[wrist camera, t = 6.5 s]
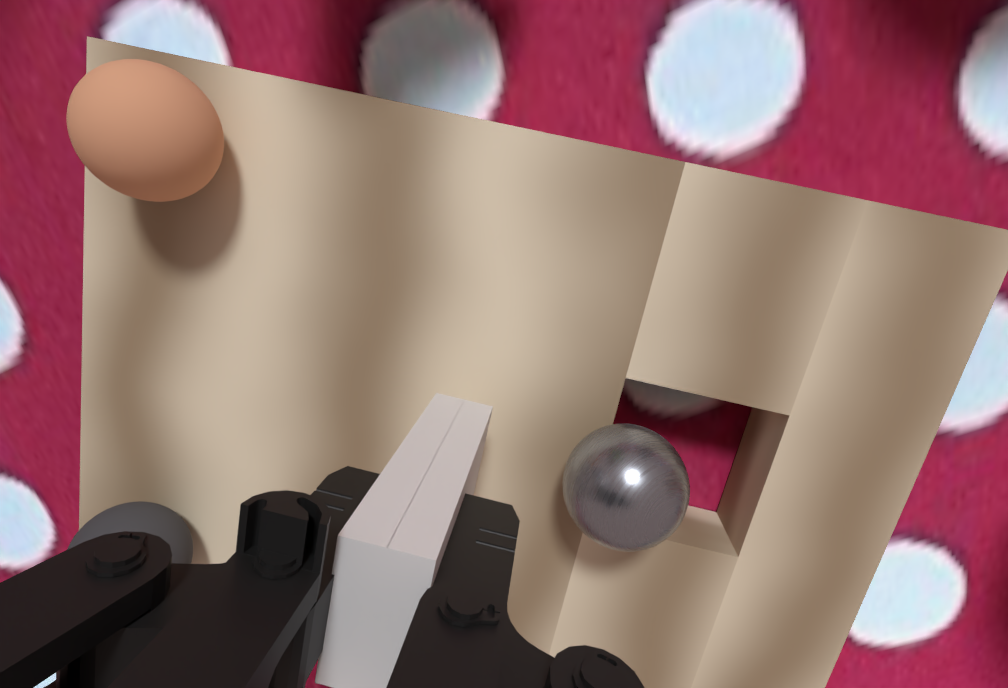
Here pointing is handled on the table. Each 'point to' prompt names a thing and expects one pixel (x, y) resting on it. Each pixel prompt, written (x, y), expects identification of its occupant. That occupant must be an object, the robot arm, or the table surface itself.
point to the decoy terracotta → (145, 130)
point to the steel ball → (626, 487)
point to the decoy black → (142, 526)
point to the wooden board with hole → (530, 354)
